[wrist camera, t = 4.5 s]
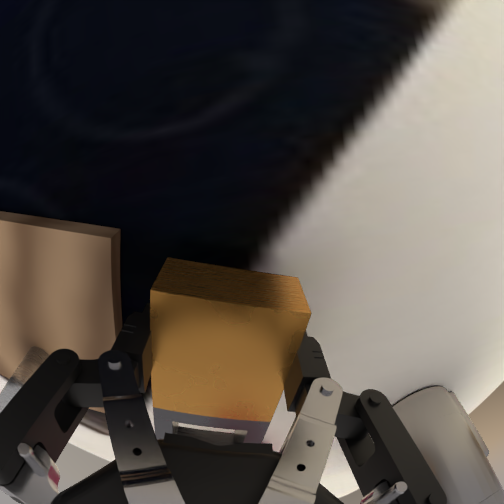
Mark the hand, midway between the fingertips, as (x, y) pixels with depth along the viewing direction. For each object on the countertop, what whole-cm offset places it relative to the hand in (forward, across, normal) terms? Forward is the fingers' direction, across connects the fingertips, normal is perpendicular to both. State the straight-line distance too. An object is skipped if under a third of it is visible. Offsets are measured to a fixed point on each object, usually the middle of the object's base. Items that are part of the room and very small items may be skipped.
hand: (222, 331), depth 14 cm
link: (+1, 0, +4) cm, 4 cm away
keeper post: (+2, +13, +8) cm, 16 cm away
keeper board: (+4, +14, +5) cm, 15 cm away
